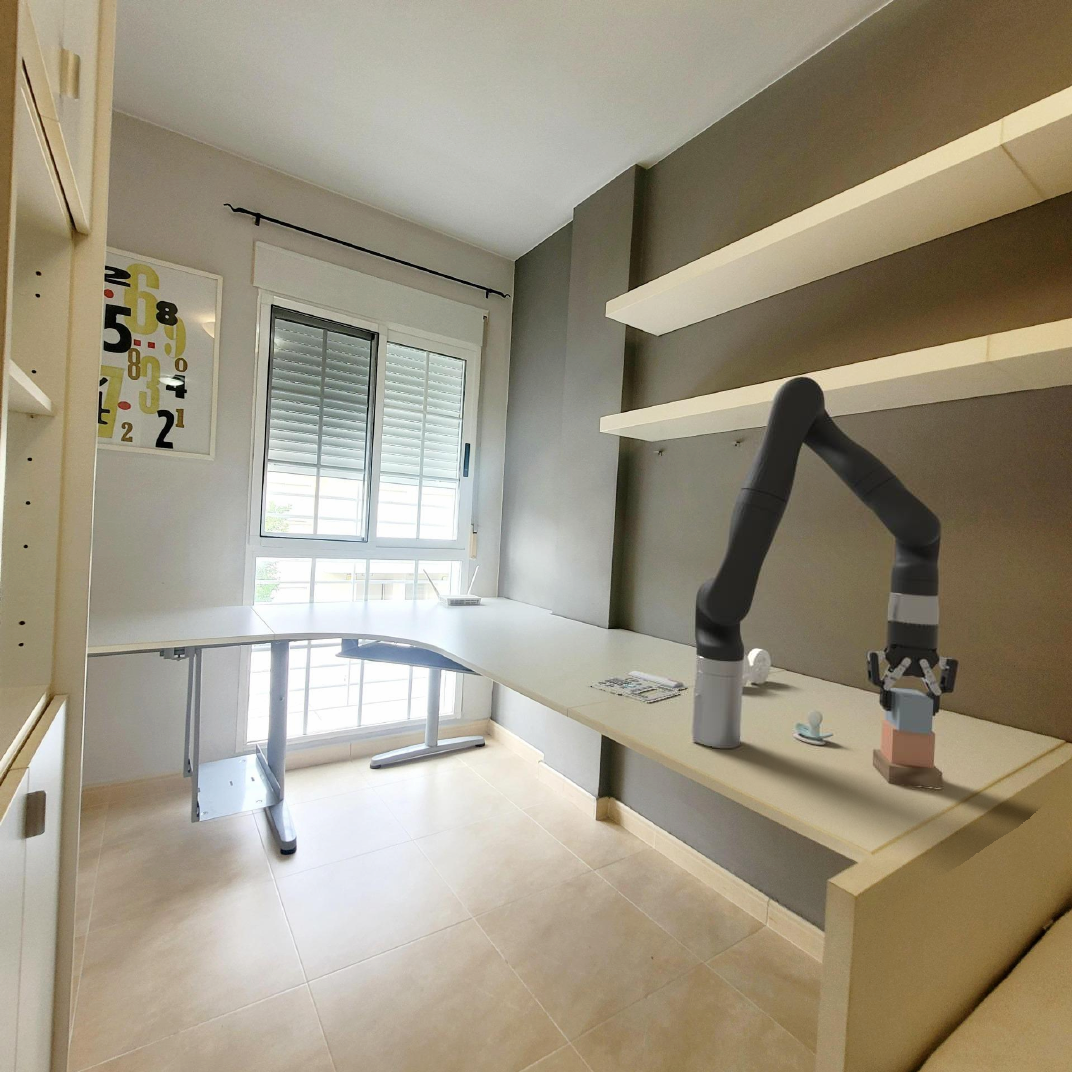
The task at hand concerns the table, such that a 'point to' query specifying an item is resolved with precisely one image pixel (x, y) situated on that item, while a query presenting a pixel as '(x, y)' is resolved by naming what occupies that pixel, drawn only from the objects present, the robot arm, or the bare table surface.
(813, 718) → the pacifier
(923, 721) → the brick slate
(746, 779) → the table surface
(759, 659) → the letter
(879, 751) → the base block
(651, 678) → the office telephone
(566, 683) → the table surface
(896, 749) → the brick terracotta
